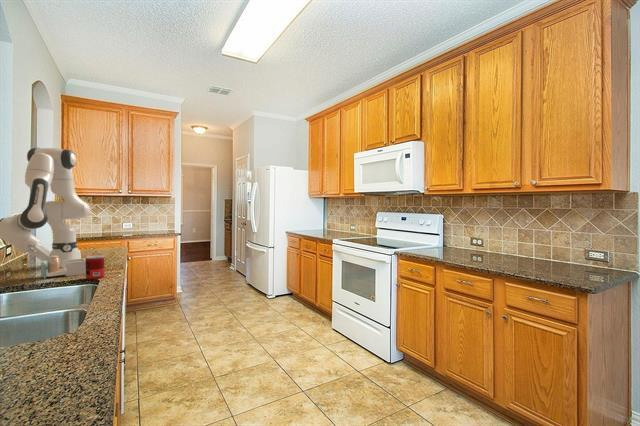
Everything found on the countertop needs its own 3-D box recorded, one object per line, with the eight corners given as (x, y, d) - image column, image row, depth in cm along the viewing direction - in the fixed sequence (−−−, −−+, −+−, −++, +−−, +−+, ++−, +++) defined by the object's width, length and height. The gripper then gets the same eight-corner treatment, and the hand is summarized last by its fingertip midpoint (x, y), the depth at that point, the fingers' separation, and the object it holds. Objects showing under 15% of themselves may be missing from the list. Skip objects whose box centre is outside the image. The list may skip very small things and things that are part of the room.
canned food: (108, 276, 172) (107, 255, 171) (96, 279, 164) (95, 257, 163) (94, 275, 172) (94, 254, 172) (82, 279, 164) (81, 257, 164)
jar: (46, 273, 170) (46, 256, 170) (58, 271, 174) (58, 254, 174) (48, 274, 167) (48, 257, 167) (60, 273, 171) (60, 256, 170)
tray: (41, 275, 170) (40, 262, 170) (64, 272, 178) (64, 259, 178) (44, 278, 164) (43, 264, 164) (68, 275, 172) (68, 262, 171)
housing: (62, 273, 178) (61, 260, 177) (84, 270, 185) (84, 258, 185) (66, 276, 170) (66, 263, 170) (89, 273, 178) (89, 260, 177)
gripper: (34, 241, 158) (61, 260, 164) (35, 238, 173) (59, 254, 180) (22, 252, 155) (49, 270, 161) (24, 247, 171) (49, 263, 177)
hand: (55, 261), depth 171 cm, fingers open, 8 cm apart
